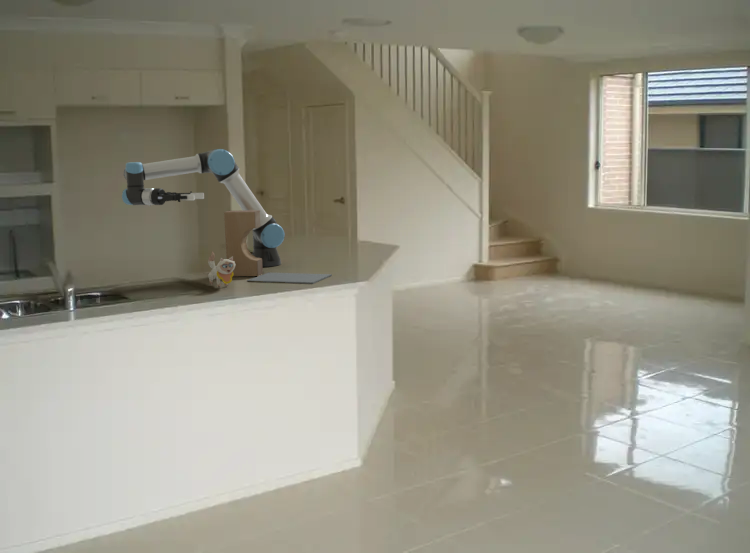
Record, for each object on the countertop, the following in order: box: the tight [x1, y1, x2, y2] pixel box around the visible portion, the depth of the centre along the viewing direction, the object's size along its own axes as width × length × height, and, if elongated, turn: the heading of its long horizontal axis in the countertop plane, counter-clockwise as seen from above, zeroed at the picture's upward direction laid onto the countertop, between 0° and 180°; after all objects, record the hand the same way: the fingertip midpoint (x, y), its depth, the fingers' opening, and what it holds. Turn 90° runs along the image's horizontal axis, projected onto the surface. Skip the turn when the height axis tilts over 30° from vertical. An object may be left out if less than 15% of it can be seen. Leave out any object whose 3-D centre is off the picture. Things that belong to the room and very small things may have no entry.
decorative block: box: [223, 209, 264, 277], centre depth 413 cm, size 15×8×30 cm, turn 77°
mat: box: [246, 272, 333, 285], centre depth 403 cm, size 22×32×1 cm
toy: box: [207, 251, 235, 288], centre depth 385 cm, size 9×19×15 cm, turn 36°
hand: (198, 196), depth 397 cm, fingers open, 8 cm apart
